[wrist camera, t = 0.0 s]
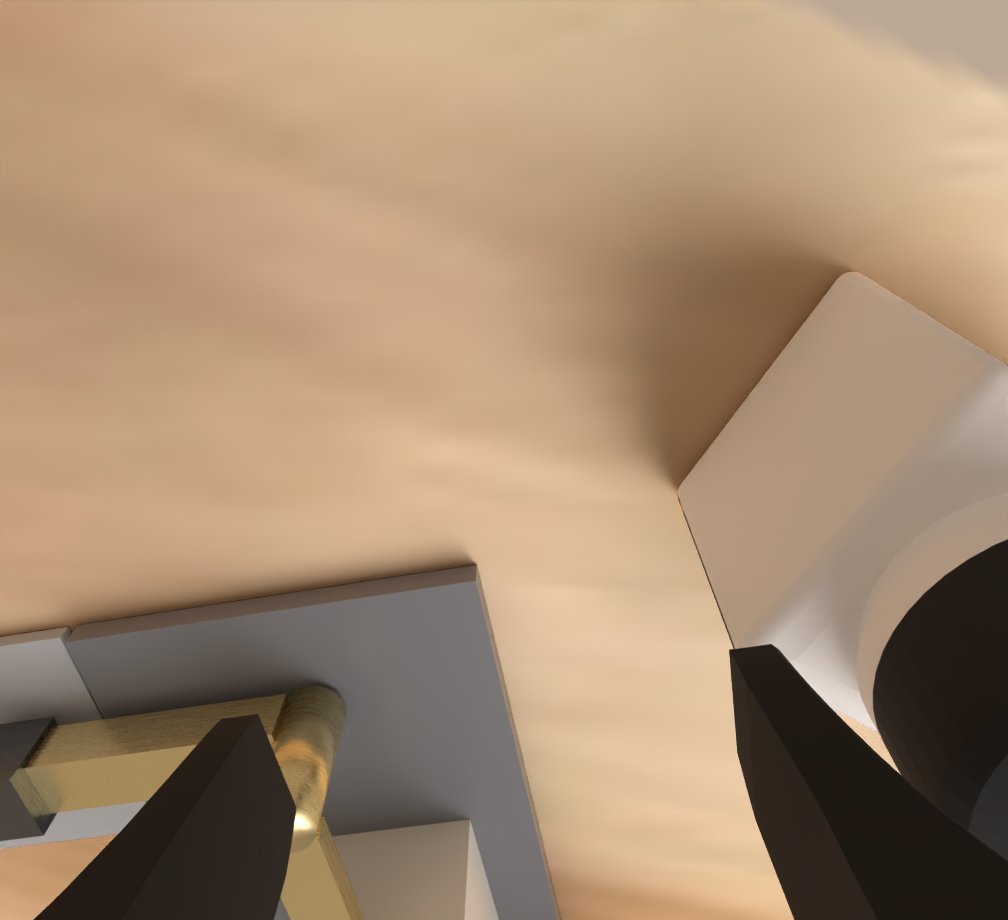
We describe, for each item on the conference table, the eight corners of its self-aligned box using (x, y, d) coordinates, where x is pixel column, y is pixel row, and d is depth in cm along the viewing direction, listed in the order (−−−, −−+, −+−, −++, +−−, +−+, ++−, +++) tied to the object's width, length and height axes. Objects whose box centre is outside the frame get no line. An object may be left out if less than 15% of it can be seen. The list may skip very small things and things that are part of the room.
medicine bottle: (669, 491, 22) (814, 899, 12) (843, 261, 20) (1248, 516, 9) (873, 601, 24) (1170, 1053, 13) (1061, 403, 21) (1633, 767, 10)
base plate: (563, 928, 30) (564, 949, 30) (248, 962, 31) (242, 984, 31) (476, 564, 23) (475, 580, 23) (77, 625, 24) (64, 642, 24)
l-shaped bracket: (412, 897, 28) (397, 1027, 24) (110, 932, 29) (50, 1063, 25) (335, 676, 24) (302, 793, 20) (-15, 726, 25) (-109, 846, 21)
